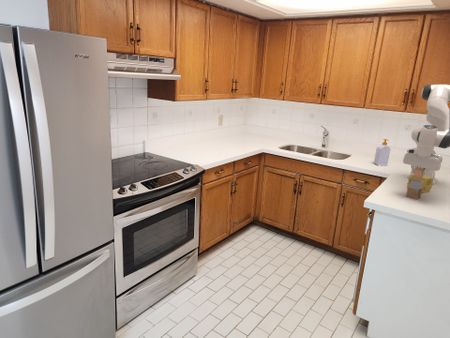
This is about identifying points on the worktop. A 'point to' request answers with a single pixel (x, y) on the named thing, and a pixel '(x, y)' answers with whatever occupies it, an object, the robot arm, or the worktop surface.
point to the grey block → (416, 184)
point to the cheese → (425, 185)
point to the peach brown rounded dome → (418, 172)
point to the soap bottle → (382, 154)
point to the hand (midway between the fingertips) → (418, 174)
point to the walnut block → (413, 193)
